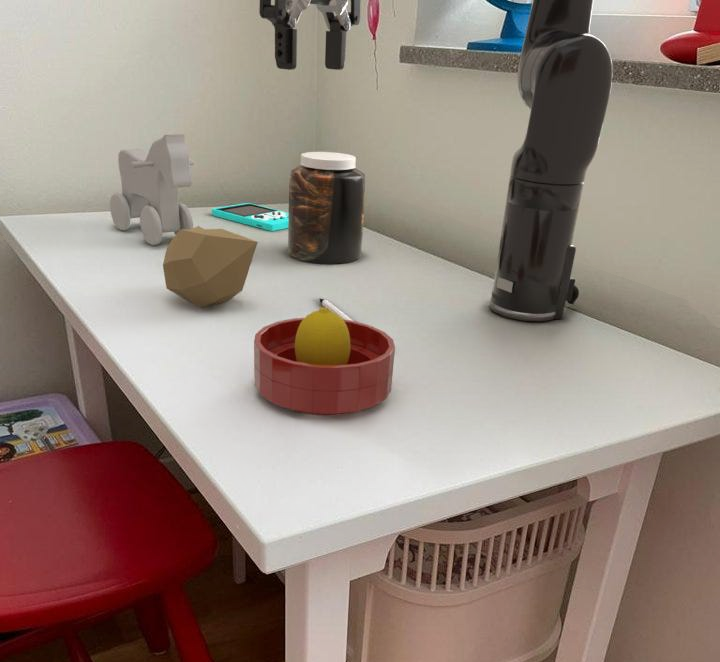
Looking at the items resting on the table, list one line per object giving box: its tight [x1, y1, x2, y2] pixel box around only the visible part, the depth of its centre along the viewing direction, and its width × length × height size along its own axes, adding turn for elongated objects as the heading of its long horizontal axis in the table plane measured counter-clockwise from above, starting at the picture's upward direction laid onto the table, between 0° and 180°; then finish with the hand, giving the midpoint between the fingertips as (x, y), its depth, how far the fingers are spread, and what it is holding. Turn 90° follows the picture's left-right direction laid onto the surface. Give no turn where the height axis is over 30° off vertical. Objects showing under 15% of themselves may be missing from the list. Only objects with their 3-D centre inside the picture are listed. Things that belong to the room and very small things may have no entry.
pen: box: [319, 298, 354, 321], centre depth 97 cm, size 1×19×1 cm, turn 26°
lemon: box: [295, 306, 350, 366], centre depth 77 cm, size 6×6×8 cm
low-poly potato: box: [162, 225, 259, 308], centre depth 100 cm, size 15×11×12 cm
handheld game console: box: [211, 202, 289, 232], centre depth 144 cm, size 10×16×1 cm, turn 51°
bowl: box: [253, 317, 396, 416], centre depth 78 cm, size 14×14×6 cm
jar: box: [287, 151, 366, 264], centre depth 121 cm, size 12×12×15 cm
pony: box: [109, 133, 195, 247], centre depth 124 cm, size 20×10×17 cm, turn 40°
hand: (311, 69), depth 84 cm, fingers open, 8 cm apart
